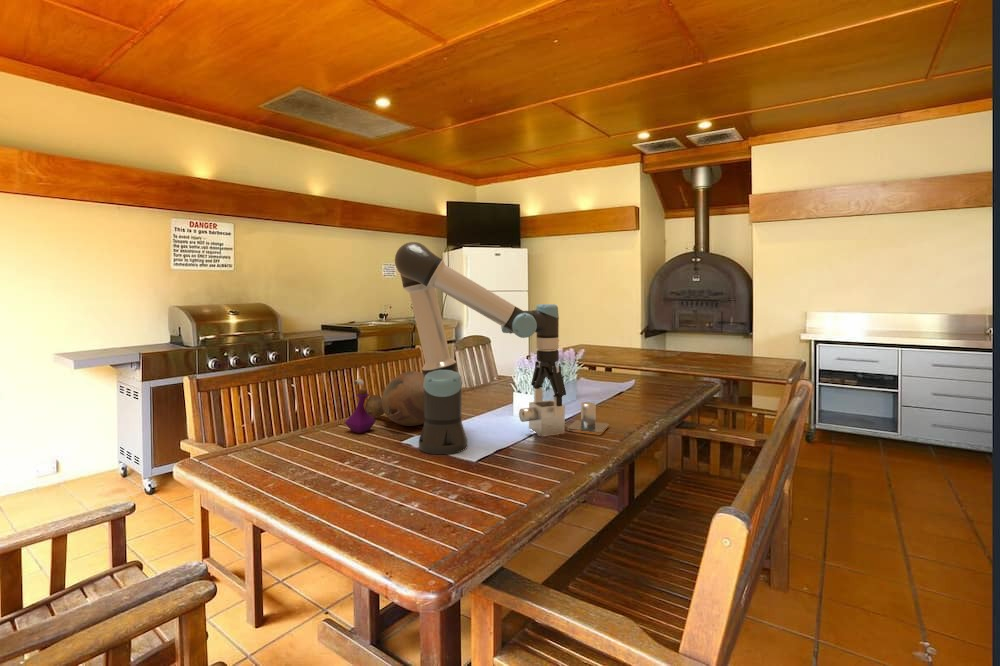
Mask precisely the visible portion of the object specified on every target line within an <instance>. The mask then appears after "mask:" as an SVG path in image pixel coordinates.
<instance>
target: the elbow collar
mask: <svg viewBox="0 0 1000 666" xmlns="http://www.w3.org/2000/svg"><path fill="white" fill-rule="evenodd" d="M528 406H529V407H524V408H520V409H519V412H518V417H519V420H520V422H522V423H524V422H525V423H526V422H528V429H529V428H530V429H532V430H533V431H535V432H536V433H537V434H539V435H540V436H544V435H551V434H557V433H564V432H565V429H566V428H565V427H566V425H565V423H566V421H565V419H566V416H565V415H566V406H565V405H564V404H562V415H559V416H554V399H553V400H552V399H550V400H543V401H539V402H535V401H530V402H529V404H528ZM564 434H565V433H564Z"/></svg>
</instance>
